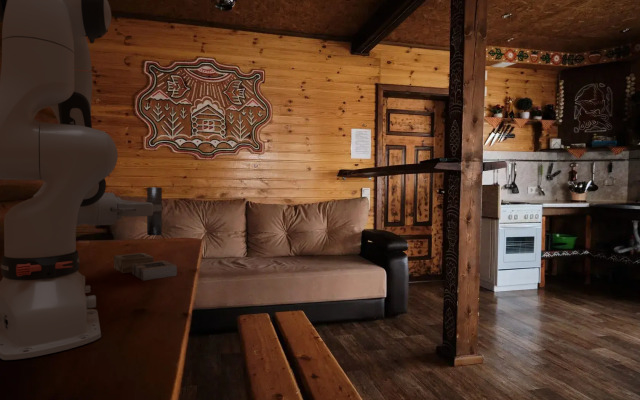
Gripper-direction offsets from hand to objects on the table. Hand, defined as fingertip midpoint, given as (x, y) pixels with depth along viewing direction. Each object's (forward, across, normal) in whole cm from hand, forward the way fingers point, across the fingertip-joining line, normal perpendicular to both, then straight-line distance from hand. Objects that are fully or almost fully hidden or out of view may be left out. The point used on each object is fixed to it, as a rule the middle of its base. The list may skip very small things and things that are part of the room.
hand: (157, 207), depth 115 cm
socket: (-1, +1, +20) cm, 20 cm away
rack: (-3, +13, +20) cm, 24 cm away
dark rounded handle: (-1, 0, +8) cm, 8 cm away
